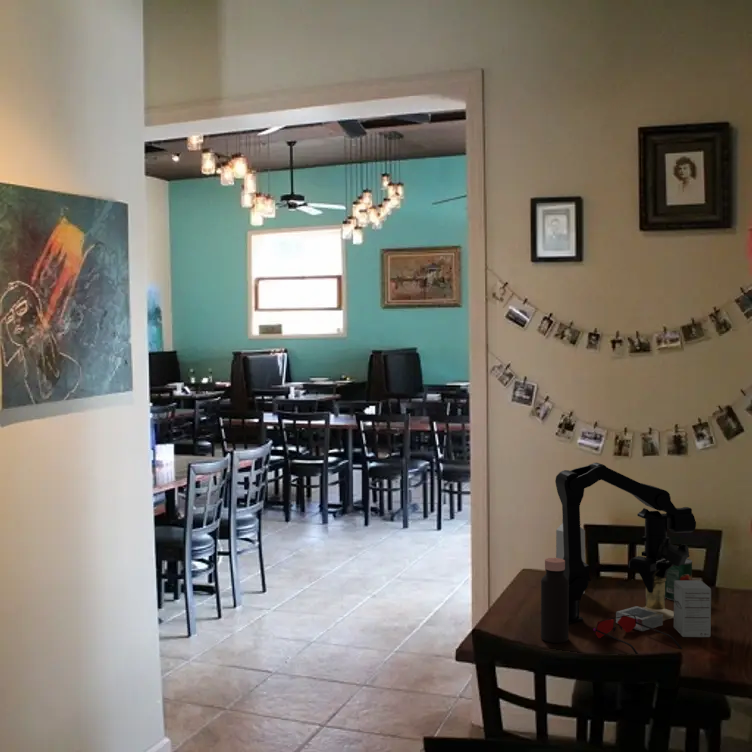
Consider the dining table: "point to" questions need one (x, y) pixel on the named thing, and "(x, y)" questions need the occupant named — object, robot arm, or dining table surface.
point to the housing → (642, 617)
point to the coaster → (664, 613)
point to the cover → (656, 594)
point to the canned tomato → (677, 577)
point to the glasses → (626, 624)
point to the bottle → (554, 602)
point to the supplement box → (692, 608)
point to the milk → (561, 543)
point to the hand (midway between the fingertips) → (655, 590)
